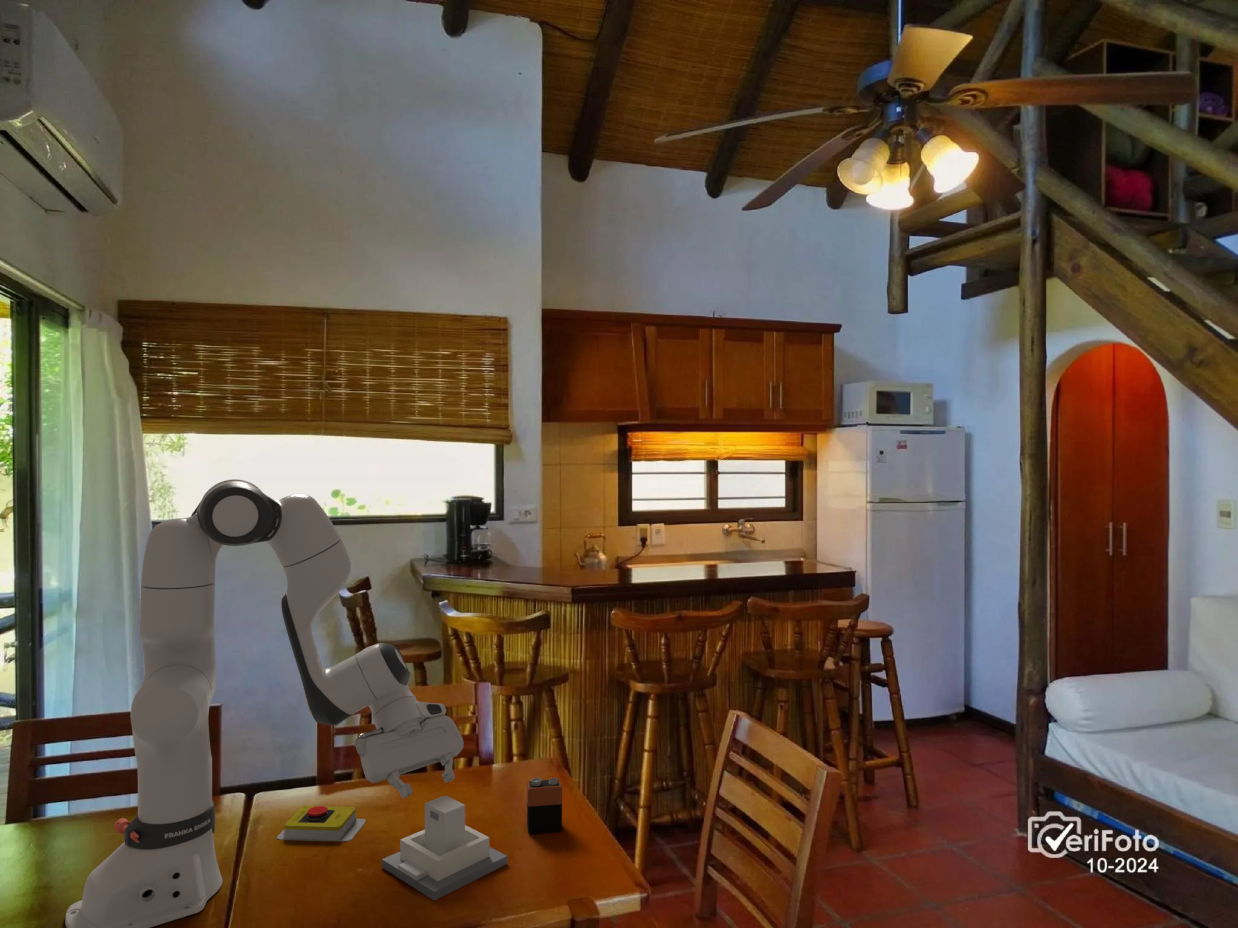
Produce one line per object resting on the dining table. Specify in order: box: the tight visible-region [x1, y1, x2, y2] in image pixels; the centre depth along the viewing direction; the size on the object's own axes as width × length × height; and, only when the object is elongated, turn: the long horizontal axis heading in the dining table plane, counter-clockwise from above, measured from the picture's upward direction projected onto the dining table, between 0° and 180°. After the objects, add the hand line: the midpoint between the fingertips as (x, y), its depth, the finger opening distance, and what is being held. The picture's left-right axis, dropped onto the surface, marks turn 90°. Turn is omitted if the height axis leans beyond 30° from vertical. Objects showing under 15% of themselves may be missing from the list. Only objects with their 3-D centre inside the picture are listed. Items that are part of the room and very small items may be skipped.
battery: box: [526, 777, 563, 835], centre depth 158 cm, size 4×7×10 cm, turn 101°
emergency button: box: [276, 805, 367, 842], centre depth 157 cm, size 9×4×15 cm
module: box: [424, 795, 466, 856], centre depth 144 cm, size 5×6×9 cm
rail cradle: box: [381, 824, 508, 901], centre depth 143 cm, size 16×16×5 cm
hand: (429, 787), depth 146 cm, fingers open, 8 cm apart
